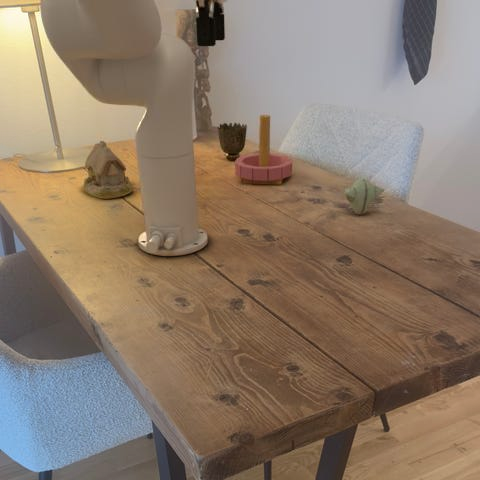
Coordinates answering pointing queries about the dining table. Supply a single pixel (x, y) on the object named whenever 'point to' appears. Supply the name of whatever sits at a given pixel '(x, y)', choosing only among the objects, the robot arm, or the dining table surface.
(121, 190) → the ceramic model
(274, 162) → the pink ring
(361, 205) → the green seashell
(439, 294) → the dining table surface
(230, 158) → the cup
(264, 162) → the stand
